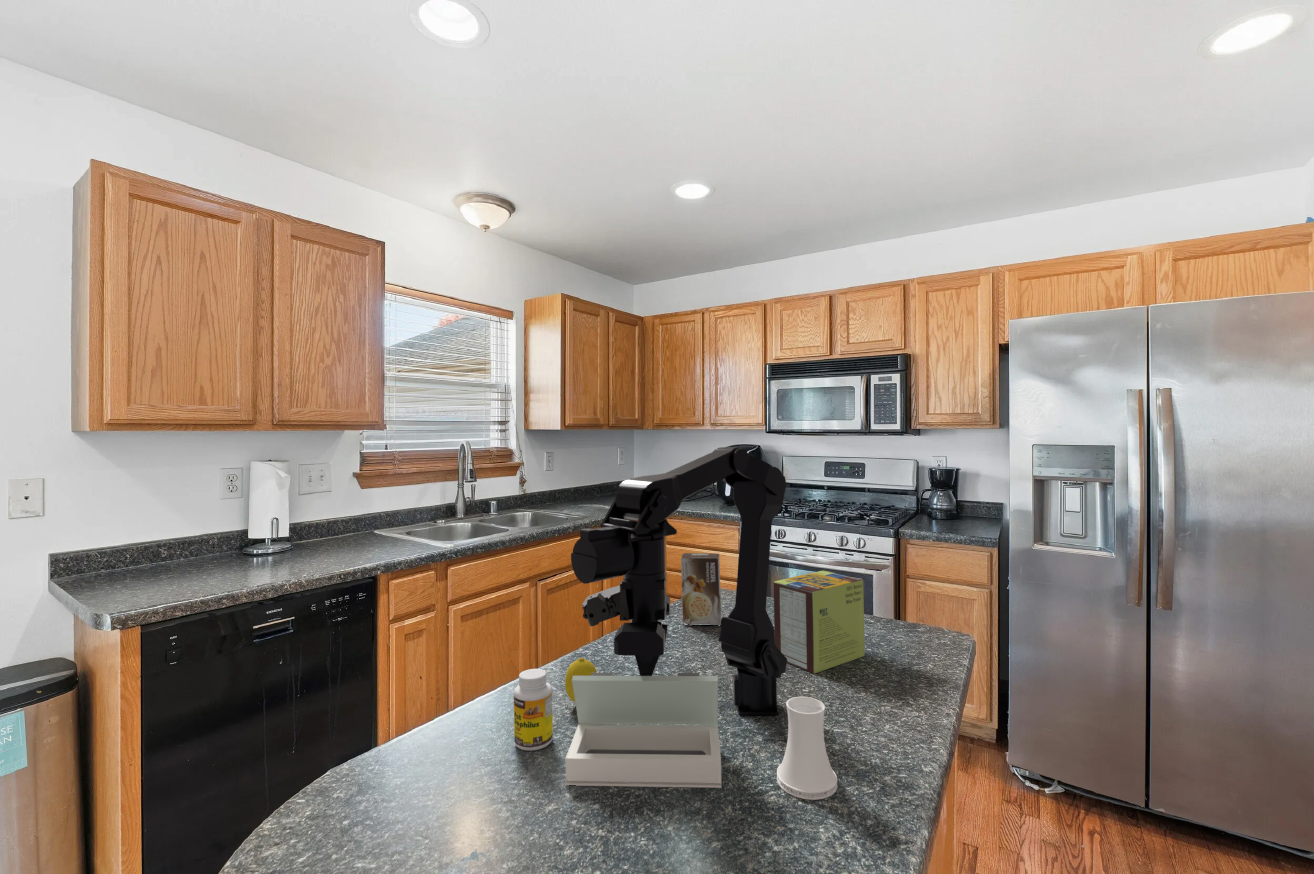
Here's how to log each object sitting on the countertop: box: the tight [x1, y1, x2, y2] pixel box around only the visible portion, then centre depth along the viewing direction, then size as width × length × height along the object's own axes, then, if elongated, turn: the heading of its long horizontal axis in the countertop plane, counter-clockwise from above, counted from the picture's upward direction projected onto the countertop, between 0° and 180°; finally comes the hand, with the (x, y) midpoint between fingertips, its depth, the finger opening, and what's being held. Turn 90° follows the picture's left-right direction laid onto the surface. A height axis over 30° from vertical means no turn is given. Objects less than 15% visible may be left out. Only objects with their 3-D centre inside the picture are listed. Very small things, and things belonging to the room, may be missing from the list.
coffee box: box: [680, 552, 723, 625], centre depth 142 cm, size 9×6×16 cm
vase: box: [776, 696, 838, 801], centre depth 76 cm, size 8×8×10 cm
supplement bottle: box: [513, 668, 554, 752], centre depth 87 cm, size 6×6×10 cm
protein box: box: [772, 570, 866, 675], centre depth 118 cm, size 10×15×16 cm
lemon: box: [564, 657, 598, 703], centre depth 99 cm, size 6×6×8 cm
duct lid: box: [572, 672, 719, 725], centre depth 83 cm, size 20×9×1 cm
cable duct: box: [565, 723, 722, 789], centre depth 80 cm, size 20×9×4 cm, turn 87°
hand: (645, 682), depth 82 cm, fingers closed, pressing on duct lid
